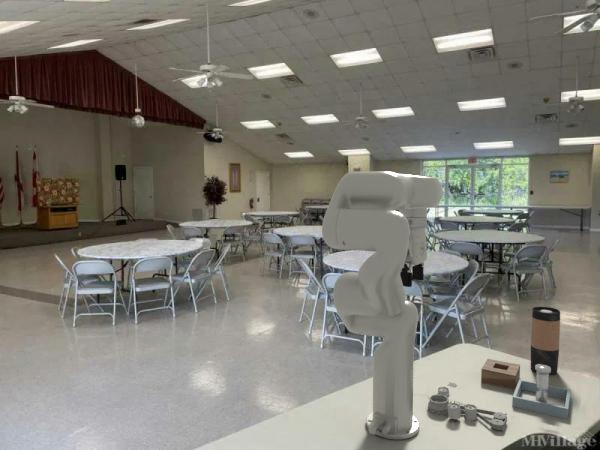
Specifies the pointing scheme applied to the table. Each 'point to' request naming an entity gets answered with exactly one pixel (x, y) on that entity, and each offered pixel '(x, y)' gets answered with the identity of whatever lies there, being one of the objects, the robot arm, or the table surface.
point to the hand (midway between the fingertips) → (412, 282)
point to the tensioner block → (500, 373)
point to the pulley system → (443, 407)
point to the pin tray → (541, 406)
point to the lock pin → (542, 382)
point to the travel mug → (545, 338)
